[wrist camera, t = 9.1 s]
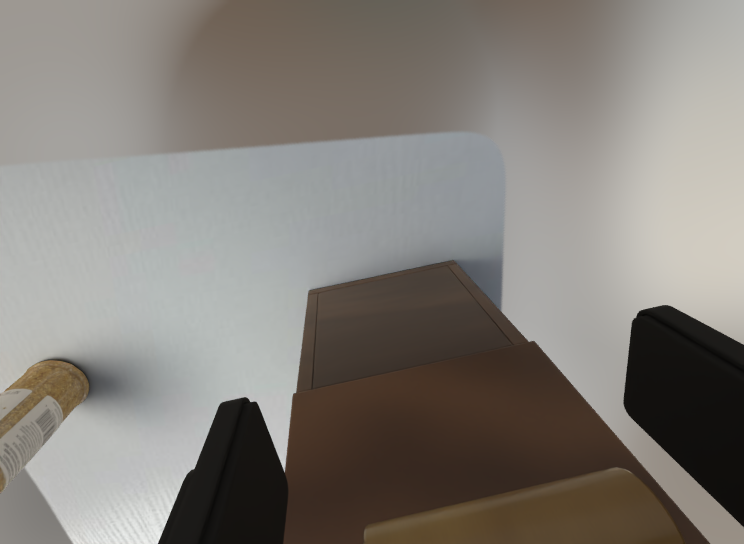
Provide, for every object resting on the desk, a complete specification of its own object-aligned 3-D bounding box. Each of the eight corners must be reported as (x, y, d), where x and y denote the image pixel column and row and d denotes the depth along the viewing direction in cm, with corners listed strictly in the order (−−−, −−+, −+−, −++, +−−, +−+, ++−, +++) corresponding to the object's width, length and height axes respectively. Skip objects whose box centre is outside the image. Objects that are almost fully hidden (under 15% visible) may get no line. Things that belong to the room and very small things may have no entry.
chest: (465, 377, 33) (532, 500, 22) (340, 405, 33) (345, 543, 22) (453, 259, 29) (529, 341, 18) (308, 290, 29) (295, 393, 18)
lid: (893, 789, 7) (1130, 645, 4) (248, 962, 6) (63, 925, 4) (533, 353, 18) (536, 242, 15) (296, 405, 17) (259, 301, 15)
